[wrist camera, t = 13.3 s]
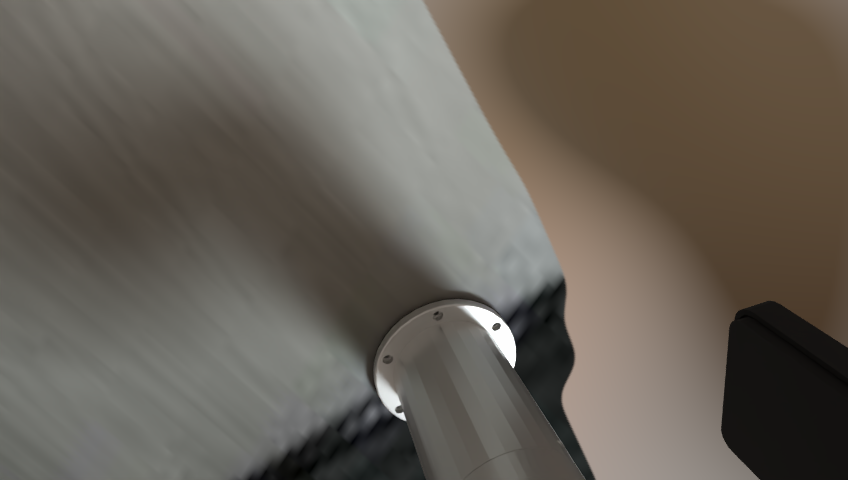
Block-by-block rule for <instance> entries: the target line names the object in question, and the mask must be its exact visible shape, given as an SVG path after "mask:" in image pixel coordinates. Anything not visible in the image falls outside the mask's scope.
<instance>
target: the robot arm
mask: <svg viewBox="0 0 848 480" xmlns="http://www.w3.org/2000/svg"><path fill="white" fill-rule="evenodd" d="M515 360H516V345H515V340H514V336H513V334H512V332H511V330H510V328H509V326H508V325H507V324H506V322H505V321H504V320H503V318H502V317H501V316H500V315H499V314H498V313H497V312H495V311H494V310H493V309H491V308H490V307H488V306H486V305H484V304H482V303H479V302H475V301H472V300H464V299H450V300H442V301H438V302H434V303H430V304H427V305H425V306H423V307H420V308H418V309H416V310H414V311H413V312H411V313H410V314H408V315H406V316H405V317H403V318H402V319H401V320H400V321H399V322H398V323H397V324H395V325H394V326H393V327H392V329H391V330H390V331H389V332H388V333H387V335H386V336H385V337H384V339H383V341H382V343H381V344H380V346H379V348H378V350H377V354H376V357H375V360H374V368H373V376H374V383H375V387H376V390H377V393H378V396H379V398H380V399H381V401H382V403H383V405H384V406H385V407H386V408H387V409H388V410H389V411H390V412H391V413H392V414H394V415H395V416H397V417H398V418H399V419H401V420H404V421H406V422H407V424H408V427H409V430H410V433H411V436H412V439H413V442H414V445H415V448H416V451H417V454H418V457H419V460H420V463H421V466H422V469H423V472H424V475H425V478H426V480H585V478H584V477H583V475H582V473H581V472H580V470H579V469H578V467H577V466H576V464H575V463H574V461H573V460H572V458H571V457H570V455H569V453H568V452H567V450H566V448H565V447H564V445H563V444H562V442H561V441H560V439H559V438H558V436H557V435H556V433H555V432H554V430H553V428H552V427H551V425H550V424H549V422H548V421H547V419H546V418H545V416H544V415H543V413H542V411H541V410H540V408H539V407H538V405H537V404H536V402H535V401H534V399H533V398H532V396H531V394H530V393H529V391H528V390H527V388H526V387H525V385H524V384H523V382H522V381H521V379H520V378H519V376H518V374H517V373H516V371H515V370H514V365H515ZM721 431H722V435H723V438H724V440H725V442H726V444H727V445H728V447H729V448H730V449H731V450H732V452H733V453H734V454H735V455H737V457H738V458H739V459H740V460H741V461H742V462H743V463H744V464H745V465H746V466H747V467H748V468H749V469H750V470H751V471H752V472H753V473H754V474H755V475H756V476H757V477H758V478H759V479H760V480H848V348H847V347H845V346H844V345H842V344H841V343H839V342H838V341H836V340H835V339H833V338H832V337H830V336H828V335H827V334H825V333H824V332H822V331H821V330H819V329H818V328H816V327H815V326H813V325H811V324H810V323H808V322H806V321H805V320H804V319H802V318H801V317H799V316H797V315H796V314H794V313H793V312H791V311H790V310H788V309H787V308H785V307H783V306H782V305H780V304H778V303H776V302H774V301H767V302H764V303H760V304H757V305H754V306H751V307H748V308H745V309H742V310H740V311H738V312H737V314H736V316H735V320H734V321H733V322H732V323H731V324H730V328H729V340H728V352H727V365H726V377H725V389H724V401H723V414H722V426H721Z"/></svg>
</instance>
